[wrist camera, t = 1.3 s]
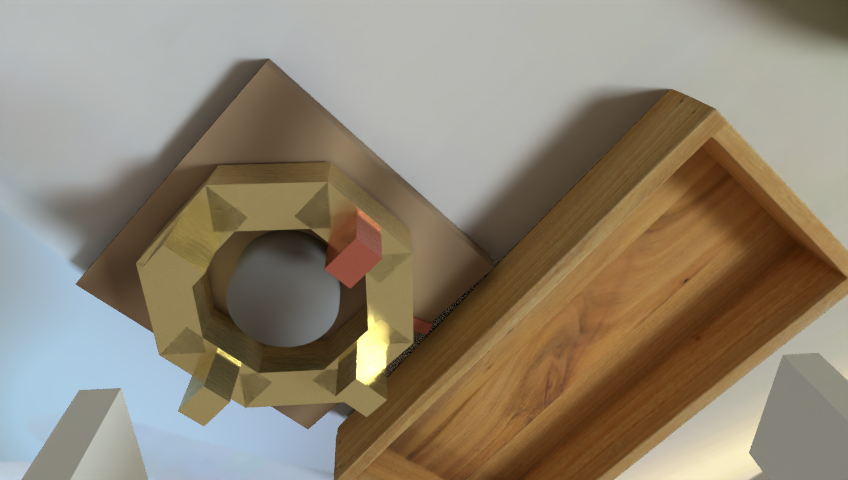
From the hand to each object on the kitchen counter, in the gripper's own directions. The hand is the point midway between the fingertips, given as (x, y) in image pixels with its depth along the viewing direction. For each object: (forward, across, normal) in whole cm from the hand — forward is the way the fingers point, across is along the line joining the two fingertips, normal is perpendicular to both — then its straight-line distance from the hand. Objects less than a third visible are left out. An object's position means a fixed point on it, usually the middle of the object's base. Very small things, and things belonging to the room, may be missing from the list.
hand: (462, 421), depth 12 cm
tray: (+24, +10, -15) cm, 30 cm away
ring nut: (+21, -7, -9) cm, 24 cm away
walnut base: (+23, -7, -9) cm, 25 cm away
